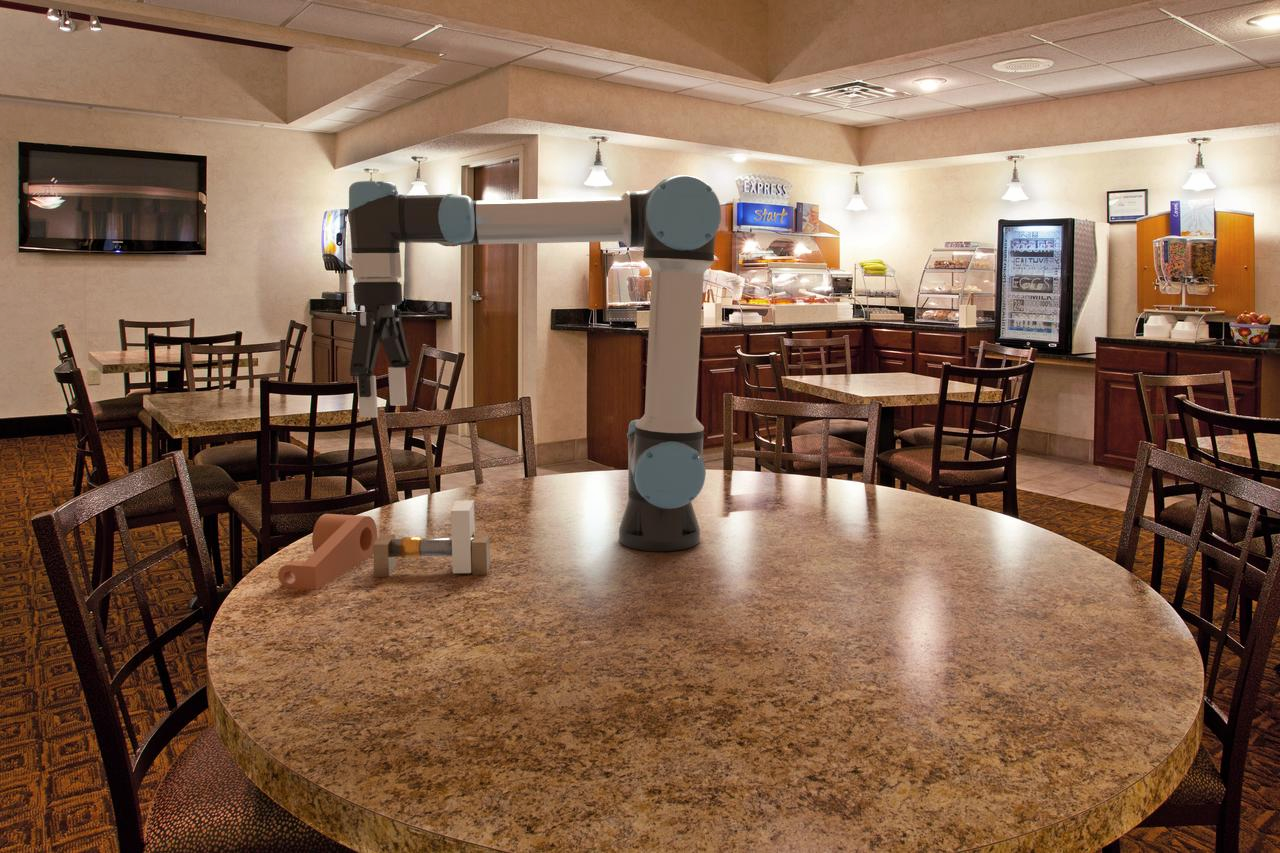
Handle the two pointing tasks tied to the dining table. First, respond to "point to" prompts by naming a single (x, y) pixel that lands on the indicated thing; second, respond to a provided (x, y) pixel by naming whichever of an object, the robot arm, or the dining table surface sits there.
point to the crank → (332, 551)
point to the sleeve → (462, 535)
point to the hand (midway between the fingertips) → (384, 411)
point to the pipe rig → (426, 551)
